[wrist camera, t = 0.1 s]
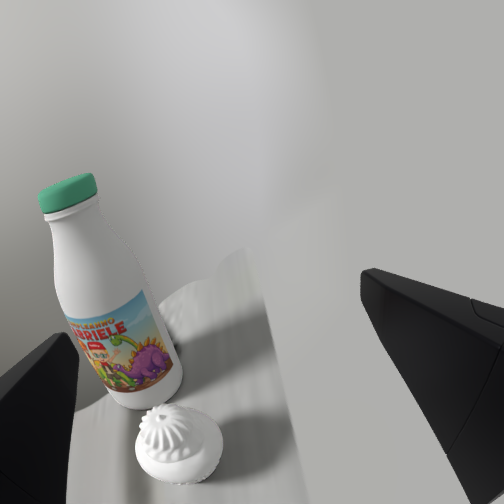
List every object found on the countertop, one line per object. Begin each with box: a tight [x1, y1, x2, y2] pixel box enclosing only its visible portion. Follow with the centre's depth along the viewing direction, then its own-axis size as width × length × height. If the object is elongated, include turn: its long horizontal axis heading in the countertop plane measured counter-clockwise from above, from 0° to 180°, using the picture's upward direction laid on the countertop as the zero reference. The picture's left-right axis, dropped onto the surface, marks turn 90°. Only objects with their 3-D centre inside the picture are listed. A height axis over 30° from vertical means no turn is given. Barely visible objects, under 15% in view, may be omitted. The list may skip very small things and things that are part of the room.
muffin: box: [135, 403, 223, 485], centre depth 18 cm, size 6×6×7 cm
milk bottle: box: [38, 173, 183, 410], centre depth 24 cm, size 8×8×20 cm
